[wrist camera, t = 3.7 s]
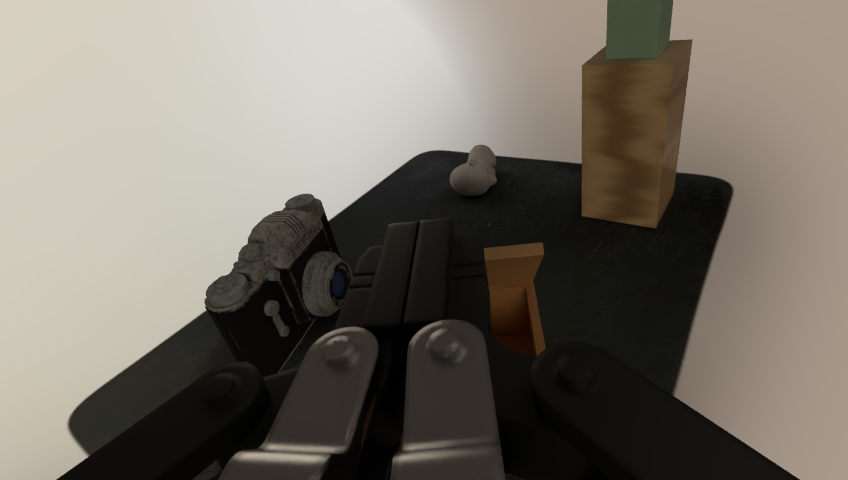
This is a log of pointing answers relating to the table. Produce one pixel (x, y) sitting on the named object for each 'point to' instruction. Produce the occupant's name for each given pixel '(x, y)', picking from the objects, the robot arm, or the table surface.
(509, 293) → the case
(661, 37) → the block
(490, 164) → the pale two-lobed sculpture
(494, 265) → the case lid
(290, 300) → the camera
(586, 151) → the post
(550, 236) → the table surface
